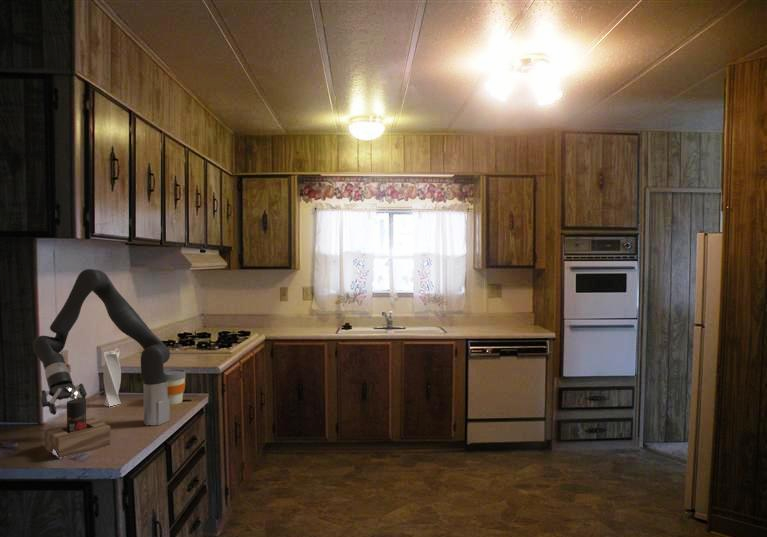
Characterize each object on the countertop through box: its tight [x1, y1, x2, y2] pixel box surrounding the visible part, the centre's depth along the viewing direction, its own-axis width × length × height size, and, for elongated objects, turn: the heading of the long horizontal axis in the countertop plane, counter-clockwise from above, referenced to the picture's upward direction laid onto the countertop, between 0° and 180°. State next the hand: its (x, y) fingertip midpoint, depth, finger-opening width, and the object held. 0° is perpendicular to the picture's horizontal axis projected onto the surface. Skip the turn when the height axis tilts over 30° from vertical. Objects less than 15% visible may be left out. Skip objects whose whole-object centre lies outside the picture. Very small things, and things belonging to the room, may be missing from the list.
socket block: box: [44, 417, 111, 458], centre depth 164 cm, size 16×16×7 cm
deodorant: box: [66, 398, 87, 433], centre depth 164 cm, size 6×6×15 cm
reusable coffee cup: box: [164, 369, 187, 406], centre depth 219 cm, size 13×12×15 cm
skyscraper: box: [102, 347, 122, 408], centre depth 216 cm, size 8×8×28 cm
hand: (68, 410), depth 169 cm, fingers open, 8 cm apart
